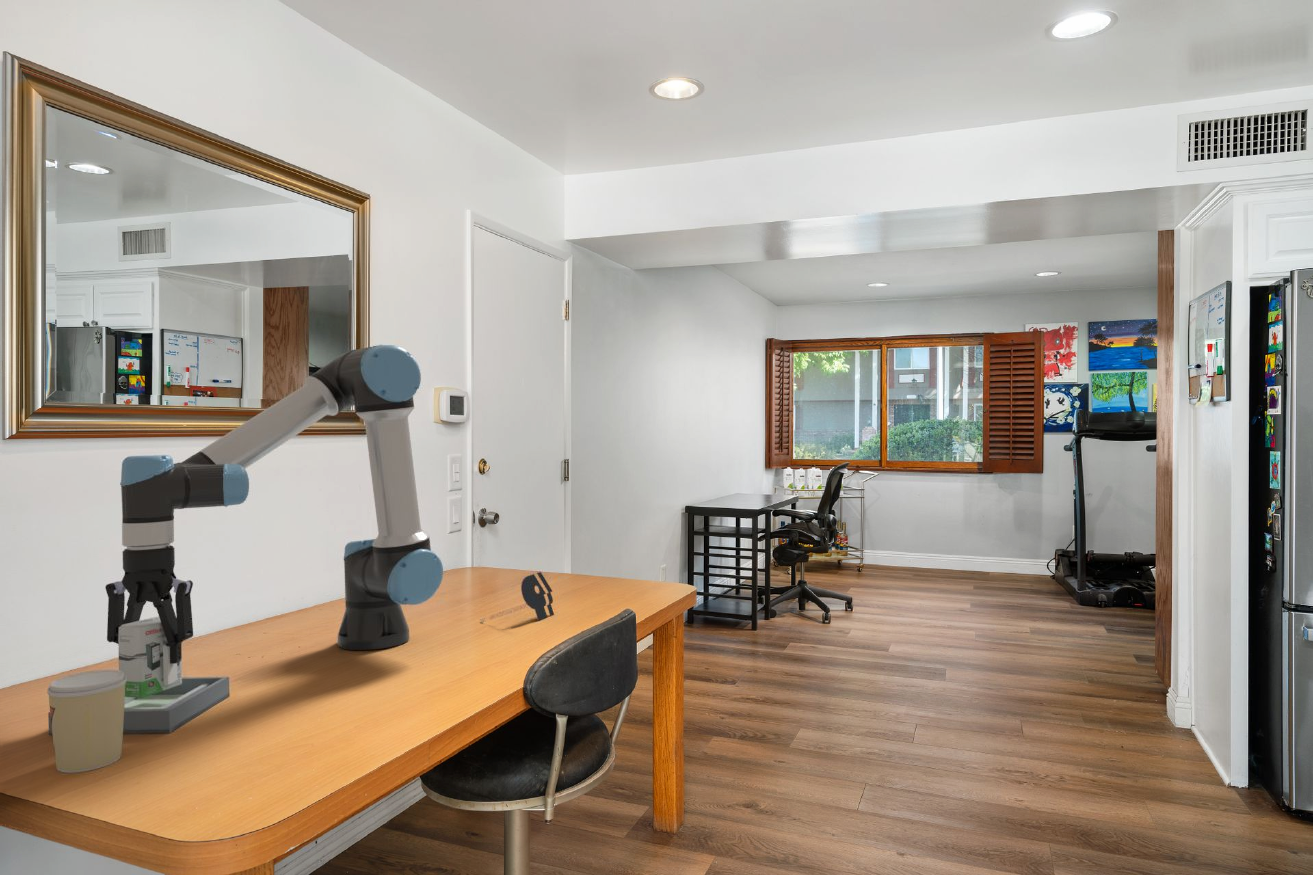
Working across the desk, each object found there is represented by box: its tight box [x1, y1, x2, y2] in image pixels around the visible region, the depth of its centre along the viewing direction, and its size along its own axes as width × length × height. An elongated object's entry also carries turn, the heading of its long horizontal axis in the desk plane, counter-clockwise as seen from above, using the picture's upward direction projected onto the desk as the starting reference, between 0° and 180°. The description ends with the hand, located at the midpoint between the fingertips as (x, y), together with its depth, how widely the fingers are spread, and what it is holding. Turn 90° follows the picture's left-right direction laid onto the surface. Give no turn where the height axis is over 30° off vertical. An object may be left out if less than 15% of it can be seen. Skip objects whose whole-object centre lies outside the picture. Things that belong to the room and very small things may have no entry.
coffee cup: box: [46, 669, 127, 774], centre depth 119 cm, size 9×9×12 cm
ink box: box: [118, 615, 183, 698], centre depth 141 cm, size 9×5×12 cm, turn 165°
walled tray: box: [48, 676, 230, 736], centre depth 139 cm, size 19×18×4 cm
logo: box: [479, 571, 555, 623], centre depth 205 cm, size 17×18×11 cm
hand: (151, 682), depth 141 cm, fingers closed on ink box, 6 cm apart
